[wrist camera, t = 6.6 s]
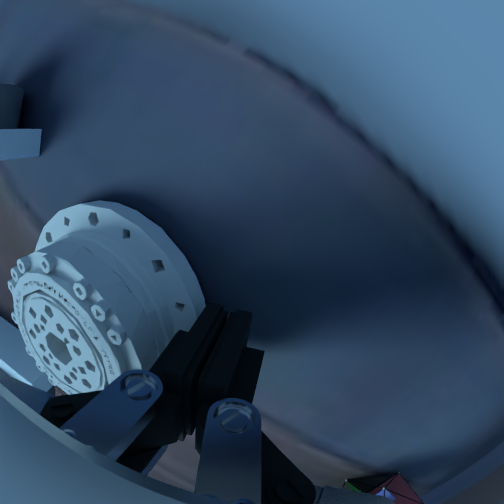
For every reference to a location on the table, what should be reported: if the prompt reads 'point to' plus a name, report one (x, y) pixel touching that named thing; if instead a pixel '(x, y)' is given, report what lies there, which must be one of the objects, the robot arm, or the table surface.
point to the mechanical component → (101, 295)
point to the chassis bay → (3, 333)
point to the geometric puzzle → (392, 490)
